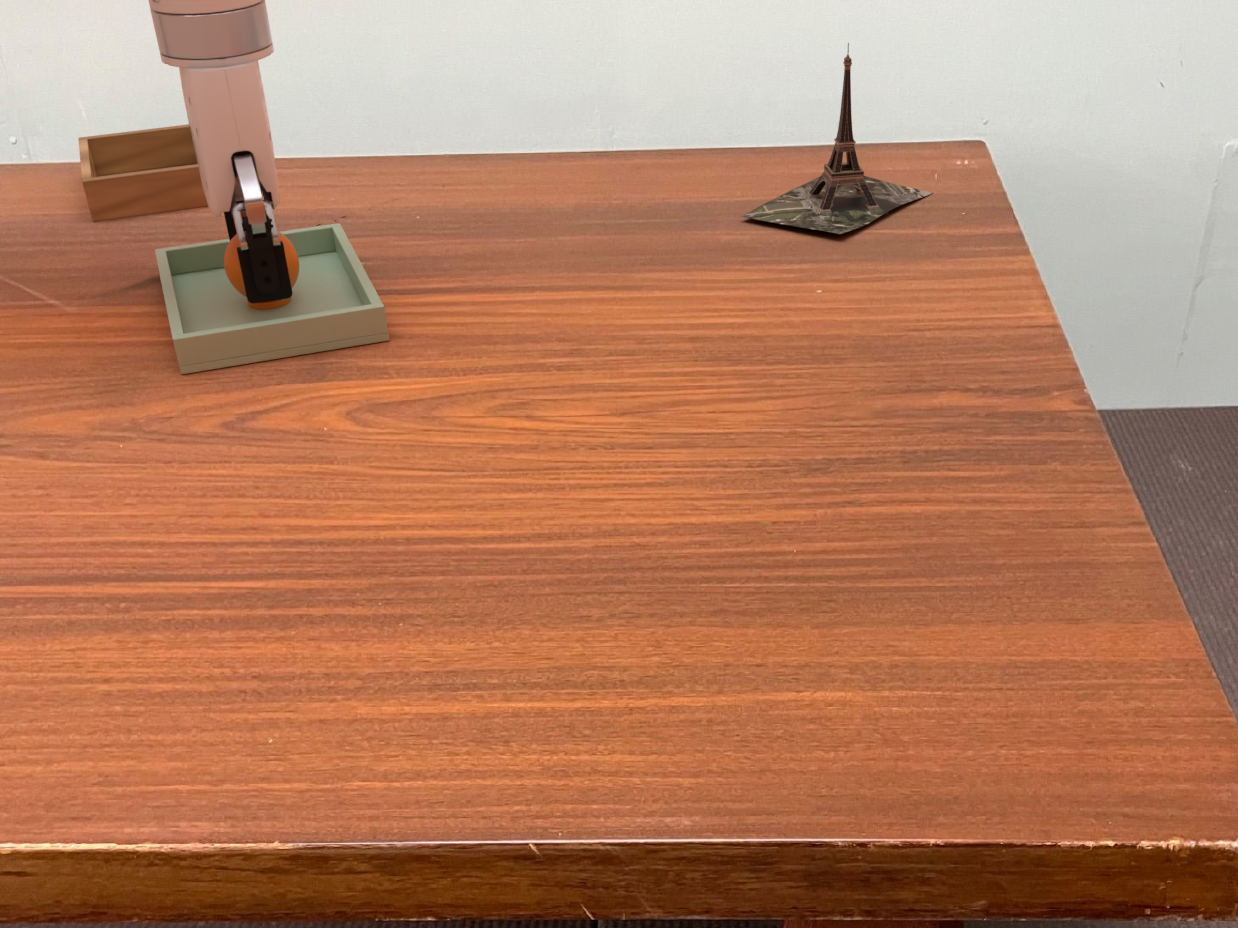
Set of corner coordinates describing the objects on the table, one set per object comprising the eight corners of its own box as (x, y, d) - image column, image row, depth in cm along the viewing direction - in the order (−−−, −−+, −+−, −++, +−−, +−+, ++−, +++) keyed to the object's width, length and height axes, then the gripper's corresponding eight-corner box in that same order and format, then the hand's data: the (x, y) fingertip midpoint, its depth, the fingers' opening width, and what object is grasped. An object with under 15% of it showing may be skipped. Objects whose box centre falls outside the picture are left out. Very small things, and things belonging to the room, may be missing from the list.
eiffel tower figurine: (834, 174, 133) (839, 17, 125) (933, 192, 128) (945, 29, 120) (740, 221, 124) (740, 53, 116) (843, 243, 118) (849, 69, 111)
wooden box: (230, 210, 130) (220, 163, 128) (94, 228, 127) (82, 181, 125) (214, 165, 142) (205, 122, 139) (89, 181, 139) (78, 137, 136)
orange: (260, 321, 107) (244, 246, 104) (218, 304, 110) (202, 230, 107) (320, 299, 110) (306, 225, 107) (278, 283, 113) (264, 211, 110)
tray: (389, 340, 105) (384, 306, 103) (181, 374, 101) (172, 339, 100) (345, 253, 120) (339, 222, 119) (162, 280, 116) (154, 248, 115)
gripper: (148, 13, 105) (200, 247, 115) (165, 67, 92) (222, 326, 102) (254, 3, 107) (296, 234, 117) (286, 54, 94) (330, 310, 104)
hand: (262, 277), depth 109 cm, fingers open, 9 cm apart
